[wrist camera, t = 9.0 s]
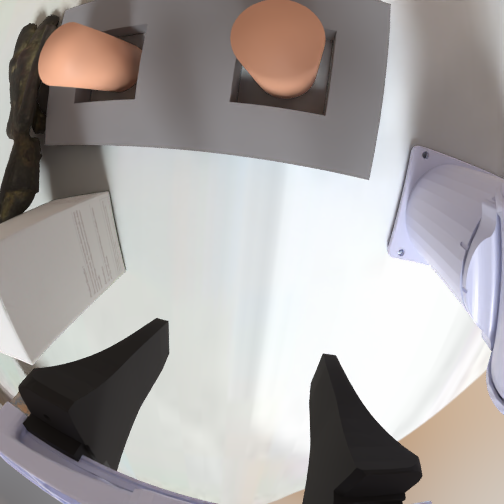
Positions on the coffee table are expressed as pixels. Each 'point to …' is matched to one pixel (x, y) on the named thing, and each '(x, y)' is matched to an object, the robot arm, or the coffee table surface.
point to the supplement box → (54, 270)
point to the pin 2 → (279, 46)
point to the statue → (24, 120)
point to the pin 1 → (88, 59)
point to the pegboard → (229, 86)
